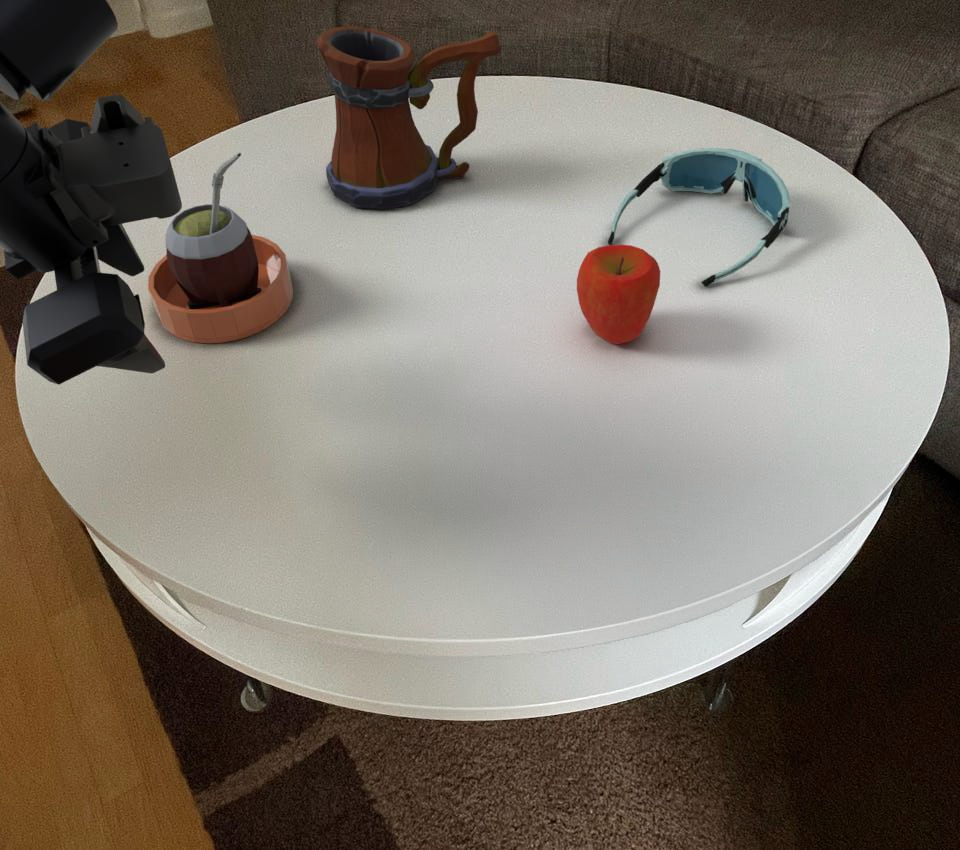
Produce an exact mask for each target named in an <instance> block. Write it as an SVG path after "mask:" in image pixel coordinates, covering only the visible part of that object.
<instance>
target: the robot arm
mask: <svg viewBox="0 0 960 850" xmlns="http://www.w3.org/2000/svg"><path fill="white" fill-rule="evenodd" d="M118 27H119V23H118V20H117V17H116V15H115V12H114V11H113V8H112V7H111V5H110V4H109V2H108V1H107V0H0V92H2V93H3V94H5V95H6V96H8V97H10V98H11V99H14V100H17V101H18V100H20V99H21V98H22V97H23V96H24V95H25V94H26V92H28V93H29V94H31V95H33V96H34V97H36V98H37V99H39V101H49V100H50V99H52V97H53V96H54V95H55V94H56V93H57V92H58V91H59V90H60V89H62V87H63V86H64V85H65V84H66V82H68V81H69V80H70V79H71V78H72V76H74V74H76V72H77V71H78V70H80V69H81V68H82V66H84V64H85V63H86V62H87V61H89V59H90V58H91V57H92V56H93V55H94V54H95V53H96V52H97V51H98V50H99V49H100V48H101V47H102V46H103V45H104V44H105V43H106V42H107V41H108V40H109V38H111V36H113V34H114V33H115V32H116V31H117V30H118ZM95 102H96V103H95V106H94V110H93V114H92V118H91V125H90V123H89V122H86V121H80V120H75V119H70V118H65V119H63V120H61V121H59V122H57V123H55V124H54V125H51V126H50V127H48V126H44V127H41V126H40V124H39V123H37V122H33V123H31V124H30V125H28V126H26V127H25V126H24V125H23V124H22V123H21V122H20V121H19V120H18V119H17V117H15V115H13V113H12V112H11V111H10V110H9V109H8V108H7V107H6V106H5V105H4V104H3V103H2V102H1V101H0V248H1V249H3V254H4V255H3V256H4V265H5V270H6V271H7V272H8V273H9V274H10V275H12V277H14V278H15V279H17V280H20V279H22V278H24V277H27V276H28V275H30V274H32V273H34V272H36V271H38V272H40V273H41V274H46V273H51V272H54V278H55V287H56V290H54V291H52V292H50V293H49V294H46V295H44V296H42V297H40V298H38V299H36V300H34V301H32V302H30V303H28V304H26V305H25V306H24V311H23V317H22V330H23V339H24V340H23V341H24V349H25V357H26V365H27V367H29V368H30V369H32V370H33V371H34V372H36V373H37V374H38V375H39V376H41V377H42V378H44V379H45V380H46V381H48V382H50V383H52V384H55V385H58V386H60V385H61V384H64V383H66V382H67V381H69V380H71V379H74V378H75V377H78V376H80V375H82V374H84V373H85V372H88V371H90V370H91V369H94V368H96V367H101V368H102V367H103V368H110V369H116V370H124V371H132V372H138V373H144V374H155V373H157V372H160V371H161V370H163V369H165V368H166V363H165V359H163V357H162V355H161V354H160V353H159V352H158V350H157V349H156V347H155V346H154V345H153V343H152V342H151V341H150V339H149V338H148V337H147V336H146V334H145V333H146V332H145V329H146V323H145V318H144V313H143V312H144V311H143V308H142V304H141V299H140V295H139V293H137V294H134V292H133V291H132V289H131V287H130V285H129V284H128V283H127V282H126V281H125V280H123V278H121V277H120V276H119V274H118V273H108V272H102V271H101V267H100V262H101V263H104V264H105V265H107V266H109V267H111V268H113V269H115V270H117V271H119V272H121V273H123V274H125V275H127V276H129V277H135V276H138V275H140V274H141V273H143V272H145V265H144V263H143V261H142V260H141V257H140V256H139V254H138V252H137V250H136V248H135V246H134V244H133V241H131V238H130V236H129V234H128V233H127V230H126V229H125V227H124V225H123V224H127V223H128V224H129V223H133V222H138V221H144V220H148V219H153V218H157V219H160V220H163V219H167V218H171V217H175V216H176V215H178V214H179V213H180V211H181V210H182V208H183V202H182V198H181V195H180V191H179V188H178V183H177V179H176V175H175V173H174V168H173V165H172V160H171V158H170V157H171V156H170V155H169V150H168V146H167V143H166V139H165V135H164V133H163V130H162V129H161V127H160V126H159V125H158V124H156V123H154V121H153V117H152V116H151V115H150V116H144V119H143V115H142V114H141V112H140V111H139V110H138V109H137V108H135V106H134V105H132V103H131V102H129V100H128V99H127V98H126V97H125V96H124V95H122V94H120V93H119V94H111V95H107V96H106V95H105V96H101V97H98V98H96V101H95ZM99 261H100V262H99Z"/></svg>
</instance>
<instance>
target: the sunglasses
mask: <svg viewBox="0 0 960 850" xmlns="http://www.w3.org/2000/svg"><path fill="white" fill-rule="evenodd" d="M661 161H662V162H661V163H660V164H658V165H657V166H656V167H655V168H654V169H653V170H652V171H650V172H649V173H648V174H646V176H644V177H643V178H642V180H641V181H640V182H639V183H638V184H637V185H636V186H635V187H634V188H633V189H632V190H631V191H630V192H628V193H627V194H625V196H624V198H623V200H622V202H621V203H620V205H619V207H618V209H617V211H616V212H615V215H614V218H613V221H612V224H611V232H610V235H609V237H608V240H607V244H608V246H609V245H613V242H614V240H615V235H616V231H617V227H618V223H619V221H620V218H621V217H622V215H623V213H624V211H625V209H626V208H627V207H628V205H629V204H630V203H632V202H633V201H635V199H636V198H640V197H641V196H642V195H643V194H644V193H645V192H646V191H647V190H648V189H649V188H650V187H651V186H652V185H653V184H654V183H656V182H658V181H660V180H661V185H662V186H663V187H664V188H666V189H667V190H668V191H681V192H682V191H683V192H684V191H685V192H695V193H704V194H715V193H716V194H717V193H721V192H722V194H724V195H725V194H728V192H729V191H730V189H731V188H732V186H733V184H734V183H735V182H736V181H737V182H740V183H742V195H743V201H744V202H745V203H748V202H749V201H750V202H751V203H752V205H753V206H754V207H755V209H756V210H757V211H758V212H759V213H760V214H761V215H763V216H764V217H765V218H766V219H767V220H769V222H770V223H771V224H772V227H771V229H770V230H769V231H768V233H767V234H766V235H764V236H763V237H761V238H760V240H759V242H758V244H757V246H756V247H755V248H754V249H753V250H752V251H750V252H749V253H748V254H747V255H745V256H744V257H743V258H742V259H741V260H739V261H738V262H736V263H735V264H733V265H731V266H729V267H728V268H726V269H724V270H722V271H719V272H717V273H715V274H712V275H710V276H709V277H707V278H705V279H704V280H702V281H700V283H701V284H702V285H703V286H704V287H708V286H709V285H711V284H713V283H715V282H717V281H719V280H721V279H723V278H726V277H728V276H730V275H732V274H734V273H736V272H738V271H739V270H741V269H743V268H744V267H746V266H747V265H748V264H750V263H751V262H752V261H754V260H755V259H756V258H758V256H759V255H760V253H761V252H762V251H763V249H764V248H766V249H768V248H769V247H770V246H771V245H772V244H773V243H774V242H775V241H776V240H777V238H778V237H779V235H780V234H781V233H782V232H785V230H786V227H787V226H788V223H789V214H790V208H791V204H792V203H791V202H792V201H791V196H790V192H789V190H788V188H787V186H786V184H785V182H784V180H783V179H782V178H781V177H780V175H778V174H777V172H776V171H775V170H774V169H773V168H772V166H770V165H769V164H767V163H766V162H764V161H763V160H762V158H760V157H757V156H755V155H753V154H750V153H748V152H746V151H743V150H738V149H733V148H721V147H707V148H705V147H704V148H695V149H690V150H685V151H681V152H677V153H673V154H671V155H669V156H666V157H664V158H662V159H661Z"/></svg>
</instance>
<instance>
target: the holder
mask: <svg viewBox="0 0 960 850" xmlns="http://www.w3.org/2000/svg"><path fill="white" fill-rule="evenodd" d="M251 235H252V238H253V241H254V247H255V251H256V255H257V260H258V267H259V273H258V288H261V290H262V292H260V293H258V294H257V295H255V296H254V297H252V298H250V299H247V300H242V301H237V302H233V303H232V306H227V307H221V305H216V306H210V307H205V308H200V309H190V308H189V306H188V304H187V302H188V301H190V300H189V299H188V297H187V296H186V295H185V293H184V292H183V291H182V289H181V288H180V286H179V285H178V283H177V281H176V279H175V277H174V274H173V273H172V271H171V269H170V266H169V264H168V260H167V254H165V255H164V256H163V257H161V259H159V260H158V261H157V262H156V263H155V265H154V267H153V268H152V270H151V272H150V273H149V275H148V281H147V290H148V293H149V296H150V298H151V301H152V304H153V308H154V309H155V312H156V316H158V318H159V321H160V323H161V325H162V326H163V328H164V329H165V330H166V331H167V332H168V333H170V334H171V335H173V336H174V337H176V338H179V339H181V340H184V341H186V342H192V343H197V344H219V343H220V344H222V343H229V342H233V341H238V340H242V339H245V338H248V337H251V336H254V335H256V334H258V333H261V332H262V331H264V330H266V329H268V328H269V327H271V326H272V325H273V324H275V323H276V322H278V321H279V319H281V318H282V317H283V315H285V313H286V312H287V311H288V310H289V308H290V306H291V304H292V301H293V296H294V289H293V288H294V287H293V284H292V278H291V273H290V269H289V265H288V260H287V255H286V253H285V252H284V251H283V250H282V248H281V247H280V246H279V245H278V244H277V243H276V242H274V241H272V240H270V239H268V238H266V237H264V236H259V235H255V234H251Z"/></svg>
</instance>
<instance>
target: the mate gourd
mask: <svg viewBox="0 0 960 850" xmlns="http://www.w3.org/2000/svg"><path fill="white" fill-rule="evenodd" d="M241 156H242V152H238V153H236V154H234V155H233V156H232V157H230V158H229V159H227V160H225V161H224V162H223V163H221V164H220V166H219V167H218V168H217V169H216V172H215V173H213V176H212V180H211V181H212V182H211V186H212V201H211V204H209V203H205V204H200V205H199V204H198V205H194V206H192V207H189V208H187V209H184V210H182V211H181V212H178V213H177V214H176V215H174V216H173V218H172V220H171V222H170V223H169V225H168V226H167V228H166V232H165V239H164V240H165V250H166V255H167V260H168V264H169V266H170V269H171V271H172V273H173V274H174V277H175V279H176V281H177V283H178V285H179V286H180V288H181V289H182V291H183V292H184V293H185V295H186V296H187V297H188V299H189V300H190V301H188V302H187V304H188V306H189V308H190V309H200V308H205V307H210V306H216V305H221V307H227V306H232V303H233V302H237V301H242V300H247V299H250V298H252V297H254V296H255V295H257V294H258V293H260V292H262V290H261V288H258V273H259V267H258V260H257V255H256V251H255V247H254V241H253V238H252V235H253V234H252V233H251V231H250V228H249V227H248V225H247V222H246V221H245V220H244V219H243V218H242V217H241V216H240V215H238V214H237V213H236V212H235V211H234V210H232V209H231V208H229V207H227V206H225V205H221V204H220V201H221V189H222V188H223V185H224V179H225V177H224V175H225V173H226V172H227V171H228V169H230V167H232V165H233V164H235V162H236V161H238V159H240V158H241Z"/></svg>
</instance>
